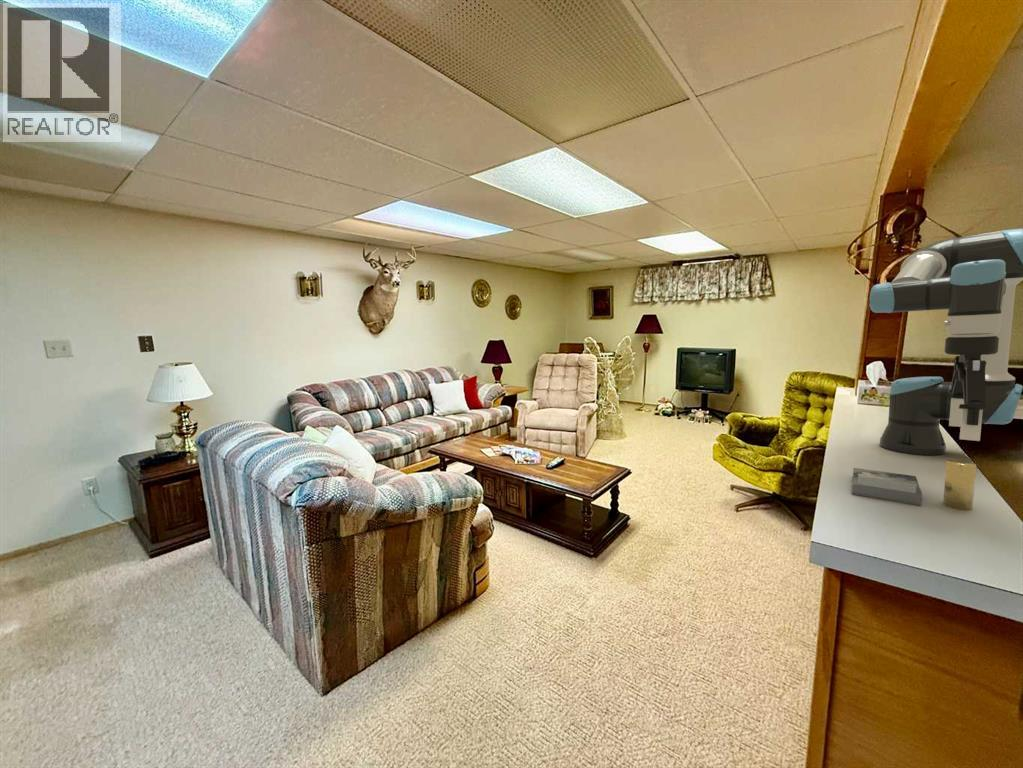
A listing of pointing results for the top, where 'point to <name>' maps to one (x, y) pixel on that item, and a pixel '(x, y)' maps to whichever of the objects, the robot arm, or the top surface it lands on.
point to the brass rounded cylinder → (959, 484)
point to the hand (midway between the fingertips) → (963, 432)
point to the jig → (886, 486)
